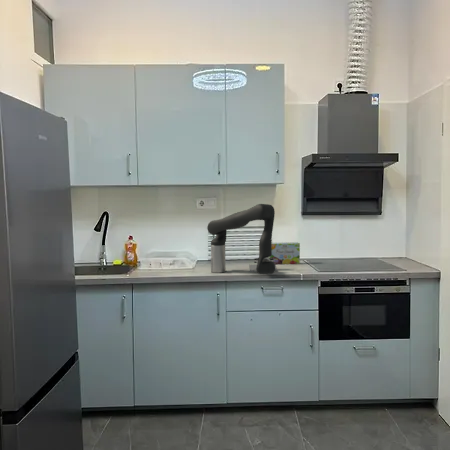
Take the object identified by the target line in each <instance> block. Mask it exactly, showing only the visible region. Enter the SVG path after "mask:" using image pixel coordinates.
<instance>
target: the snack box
mask: <svg viewBox="0 0 450 450" xmlns="http://www.w3.org/2000/svg"><path fill="white" fill-rule="evenodd" d="M300 244H301V243H300V242H298V241H297V242H296V241H294V242H286V241H285V242H272V255H271V257H269V258H273V259H274V264H275V265H300V264H301V263H300V262H301V261H300V260H301V259H300V258H301V257H300V253H301V251H300V250H301V248H300V247H301V246H300Z"/></svg>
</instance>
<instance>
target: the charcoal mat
mask: <svg viewBox="0 0 450 450" xmlns="http://www.w3.org/2000/svg"><path fill="white" fill-rule="evenodd" d="M276 265H277V264H275V272H276V273H278V272H279V270H278V268H277V266H276ZM248 267H249V268H248V271H249V273H258V272H257V270H256V267H257V264H249V265H248ZM275 272H274V273H275Z"/></svg>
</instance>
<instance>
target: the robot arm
mask: <svg viewBox="0 0 450 450" xmlns="http://www.w3.org/2000/svg"><path fill="white" fill-rule="evenodd" d="M254 221H263V222H264V223H263V224H264V226H263V231H262V233H261V236H260V238H259V243H258V257H256V258H253V263H254V264H256V265H257V267H256V270H257V272H256V273H258V274H259V275H272V274H274V273H275V265H276V264H274V259H273V258H269V257H271V255H272V243H273V241H272V240H273V239H272V238H273V237H272V236H273V230H274V221H275V207H274V206H273V205H272V204H268V203H258V204H256V205H253V206H252V207H250V208H248V209H245V210H242V211H241V210H240V211H237V212H235V213H232V214H230V215H227V216H225V217H223V218H220V219H213V220H210V222H208V224H207V227H206V229H207V231H208V233H209V234H211V235H214V236H215V235H216V236H215V237H214V238H213V239H212V240H211V241H210V273H214V274H215V273H225V272H226V271H227V270H226V265H227V264H226V243H227V234H228V233H227V231H229V230H237V229H240V228H244V227H245V226H247V225H248V224H249V223H250V222H254Z"/></svg>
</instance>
